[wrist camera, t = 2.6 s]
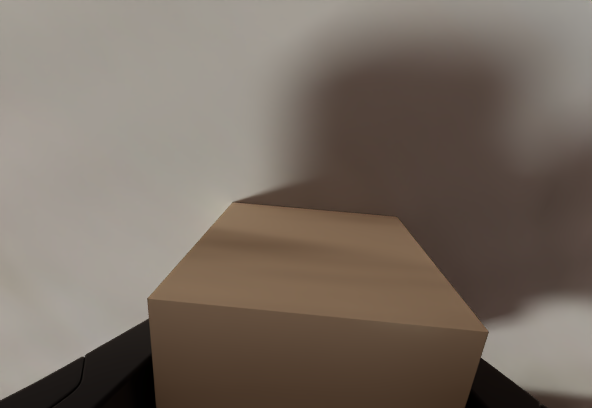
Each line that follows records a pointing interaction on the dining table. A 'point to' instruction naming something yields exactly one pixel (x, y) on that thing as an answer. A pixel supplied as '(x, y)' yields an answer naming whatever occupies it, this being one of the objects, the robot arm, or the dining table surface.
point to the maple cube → (310, 317)
